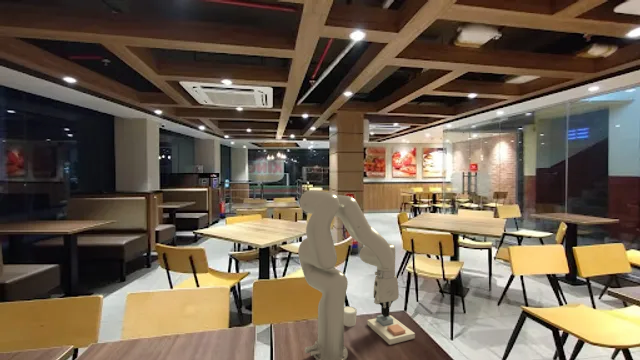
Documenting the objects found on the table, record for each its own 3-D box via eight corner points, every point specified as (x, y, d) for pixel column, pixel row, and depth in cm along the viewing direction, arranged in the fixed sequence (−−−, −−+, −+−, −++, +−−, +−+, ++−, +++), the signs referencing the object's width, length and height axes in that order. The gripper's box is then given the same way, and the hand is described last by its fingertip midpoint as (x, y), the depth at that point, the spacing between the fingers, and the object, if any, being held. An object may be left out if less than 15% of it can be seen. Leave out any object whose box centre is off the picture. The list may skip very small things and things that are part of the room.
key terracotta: (394, 338, 118) (394, 332, 118) (387, 332, 123) (387, 326, 123) (405, 336, 120) (405, 330, 120) (397, 329, 125) (397, 324, 124)
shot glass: (355, 330, 127) (356, 314, 127) (339, 328, 128) (340, 312, 128) (357, 322, 134) (357, 306, 134) (341, 320, 135) (342, 305, 135)
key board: (389, 347, 115) (389, 339, 115) (367, 326, 130) (367, 319, 130) (414, 340, 120) (414, 333, 120) (390, 321, 135) (390, 315, 135)
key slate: (383, 326, 125) (383, 321, 125) (376, 321, 130) (376, 315, 130) (393, 324, 127) (393, 318, 127) (386, 319, 132) (386, 313, 132)
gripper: (375, 278, 122) (375, 323, 122) (405, 273, 127) (405, 316, 128) (366, 272, 129) (365, 314, 129) (395, 268, 134) (394, 308, 135)
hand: (385, 315), depth 129 cm, fingers closed
